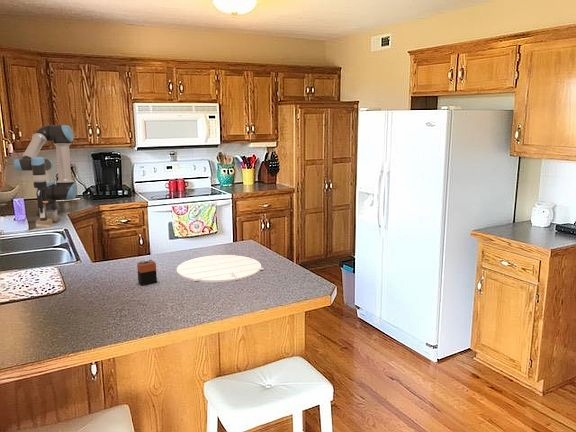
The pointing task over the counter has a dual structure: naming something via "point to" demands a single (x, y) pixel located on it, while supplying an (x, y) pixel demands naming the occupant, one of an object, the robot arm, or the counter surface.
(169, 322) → the counter surface
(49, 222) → the block
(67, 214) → the counter surface
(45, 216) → the chuck key
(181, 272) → the lazy susan
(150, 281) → the battery
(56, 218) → the chuck
